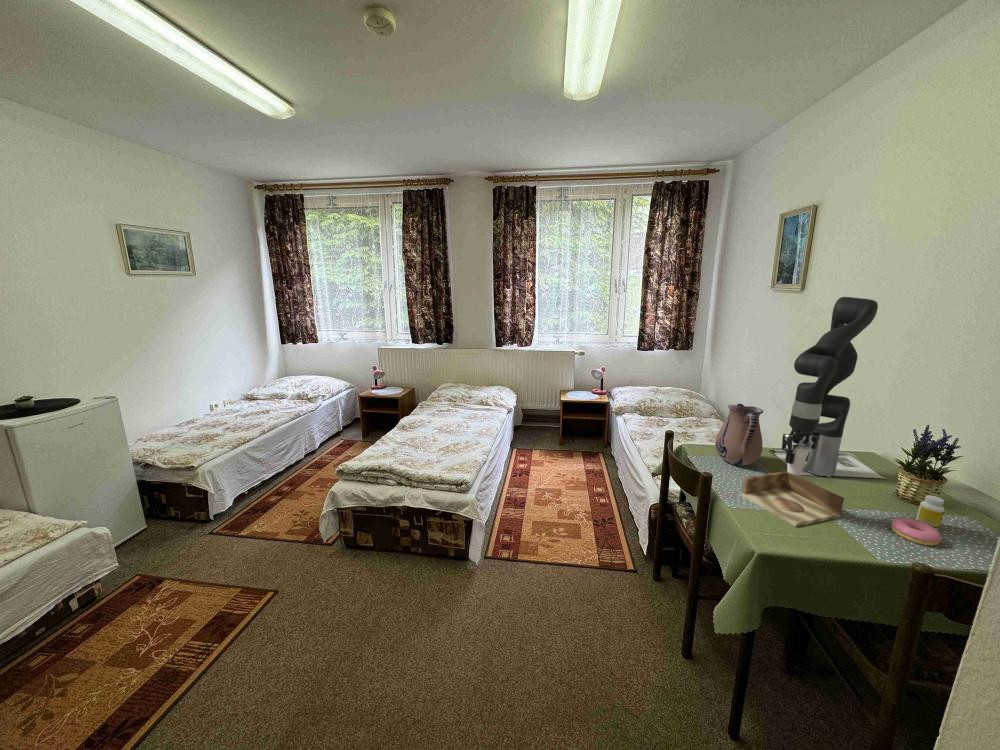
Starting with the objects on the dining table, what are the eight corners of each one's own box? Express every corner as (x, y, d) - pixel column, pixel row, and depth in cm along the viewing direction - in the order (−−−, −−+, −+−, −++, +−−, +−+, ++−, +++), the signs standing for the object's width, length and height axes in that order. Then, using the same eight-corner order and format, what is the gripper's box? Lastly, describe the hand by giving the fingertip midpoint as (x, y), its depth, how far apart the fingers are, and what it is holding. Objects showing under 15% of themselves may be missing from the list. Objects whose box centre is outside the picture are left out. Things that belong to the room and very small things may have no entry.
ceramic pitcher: (746, 454, 181) (755, 402, 175) (772, 475, 160) (783, 417, 155) (706, 452, 182) (714, 400, 177) (727, 473, 162) (736, 415, 156)
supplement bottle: (942, 532, 124) (950, 504, 122) (918, 526, 127) (926, 499, 125) (935, 524, 129) (943, 497, 126) (912, 518, 131) (919, 492, 129)
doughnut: (942, 553, 114) (945, 540, 114) (889, 536, 122) (892, 524, 121) (937, 536, 122) (941, 524, 121) (888, 522, 130) (891, 510, 129)
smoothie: (778, 470, 135) (785, 432, 132) (788, 466, 138) (795, 429, 134) (799, 478, 129) (807, 438, 126) (809, 474, 132) (817, 435, 129)
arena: (782, 488, 150) (785, 471, 148) (839, 517, 131) (844, 497, 130) (741, 495, 144) (744, 477, 143) (795, 526, 126) (799, 506, 124)
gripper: (800, 420, 123) (791, 469, 127) (833, 416, 127) (823, 464, 131) (778, 412, 130) (769, 459, 134) (809, 409, 134) (800, 455, 138)
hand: (796, 461), depth 133 cm, fingers closed on smoothie, 6 cm apart
